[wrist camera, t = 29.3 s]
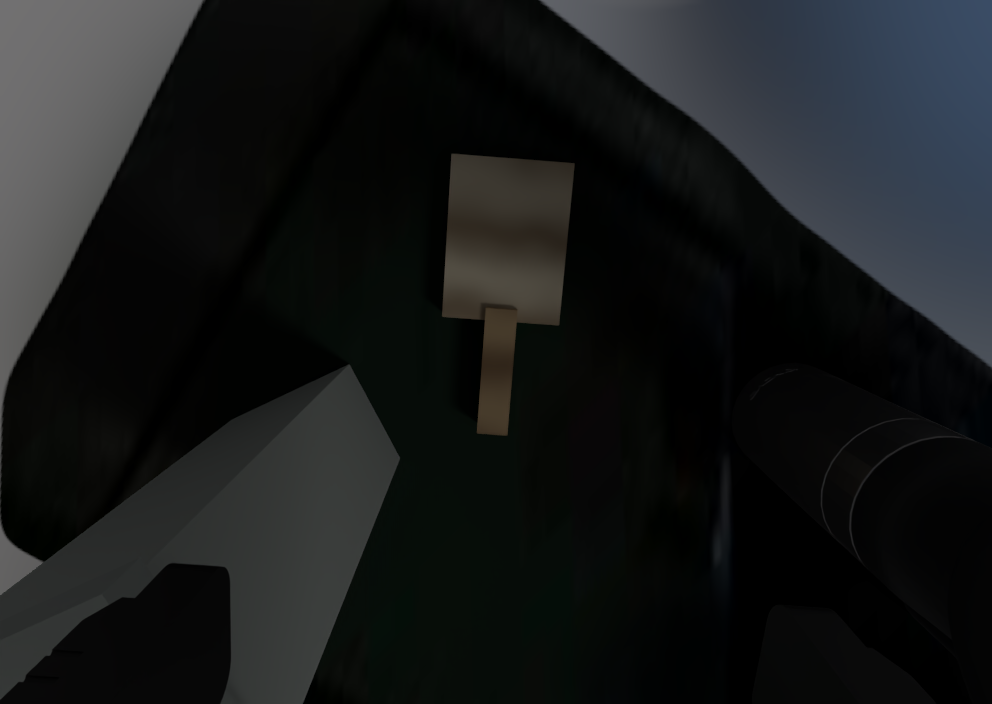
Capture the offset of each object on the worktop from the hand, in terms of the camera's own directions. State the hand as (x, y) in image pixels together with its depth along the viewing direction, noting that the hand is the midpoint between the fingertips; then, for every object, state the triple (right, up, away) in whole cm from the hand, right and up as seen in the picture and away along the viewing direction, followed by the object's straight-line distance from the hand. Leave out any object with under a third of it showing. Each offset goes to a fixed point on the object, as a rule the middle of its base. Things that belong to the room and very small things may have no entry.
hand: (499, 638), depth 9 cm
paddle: (0, +8, +39) cm, 40 cm away
